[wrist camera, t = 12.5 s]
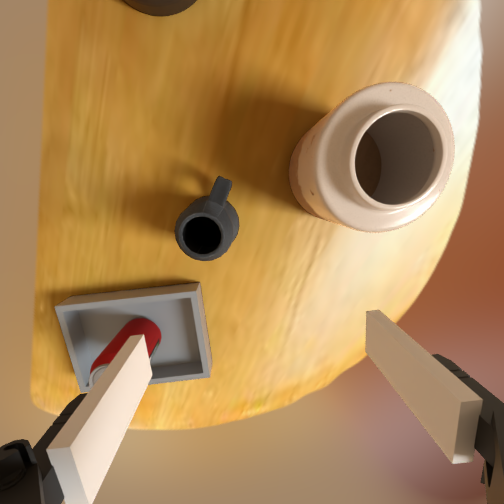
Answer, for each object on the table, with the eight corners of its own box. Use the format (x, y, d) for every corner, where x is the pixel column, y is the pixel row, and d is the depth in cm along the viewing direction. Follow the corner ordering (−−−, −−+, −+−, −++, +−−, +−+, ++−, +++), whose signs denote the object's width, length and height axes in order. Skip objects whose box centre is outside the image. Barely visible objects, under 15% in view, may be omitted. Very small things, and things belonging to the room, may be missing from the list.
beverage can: (135, 355, 46) (99, 411, 34) (116, 324, 44) (72, 372, 32) (169, 341, 45) (145, 394, 34) (152, 309, 44) (120, 353, 32)
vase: (377, 218, 43) (461, 235, 27) (287, 220, 42) (317, 239, 26) (387, 119, 39) (491, 68, 23) (288, 119, 39) (324, 68, 22)
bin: (70, 296, 43) (54, 306, 39) (199, 282, 44) (196, 291, 40) (94, 375, 47) (80, 392, 43) (212, 362, 48) (210, 377, 44)
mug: (227, 259, 43) (223, 282, 32) (175, 239, 42) (153, 256, 31) (254, 191, 41) (260, 192, 30) (200, 168, 40) (186, 160, 29)
